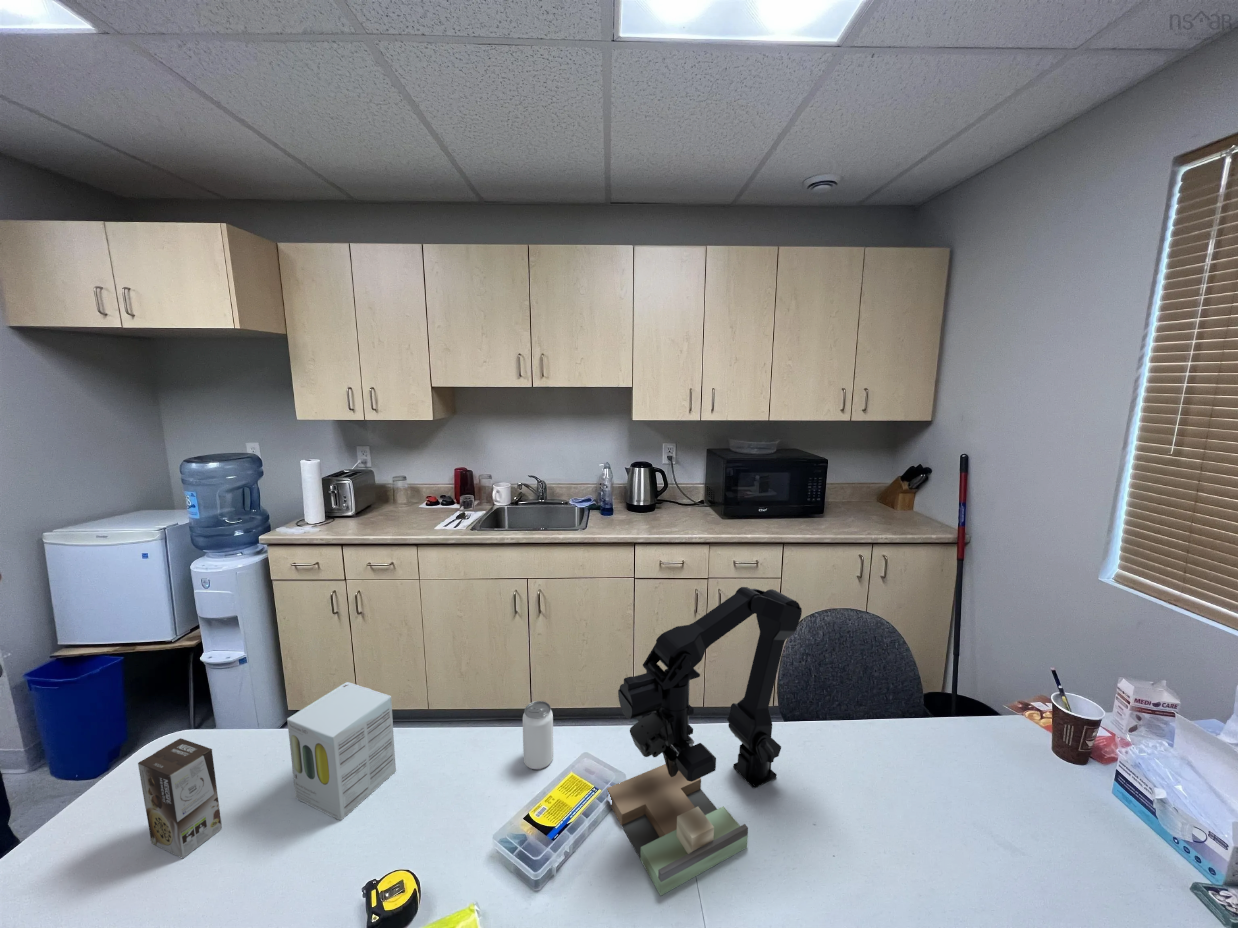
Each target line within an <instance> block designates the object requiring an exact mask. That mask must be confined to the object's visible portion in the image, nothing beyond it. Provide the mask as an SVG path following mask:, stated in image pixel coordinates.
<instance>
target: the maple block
mask: <svg viewBox="0 0 1238 928" xmlns="http://www.w3.org/2000/svg"><path fill="white" fill-rule="evenodd" d="M676 836H677V838H678V840H679V841H680V843H681V844H682V846H683V847H684V849H685V850H686V852H687V853H688V854H689V853H691V852H693V851H695V850H696V849H698V848H700V847H702V846H704V845H706V844H708V843H710V842H712V841H713V838H714V827H713V825H712V824H711V823H710V821H709V820H708V819H707V817H706V816H705V815H704V813H703V812H702V811H701V810H700V808H699V807H696V808H694V809H691V810H689V811H687V812H685V813H683V814H681V815H679V816H677V835H676Z"/></svg>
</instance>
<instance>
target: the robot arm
mask: <svg viewBox="0 0 1238 928" xmlns="http://www.w3.org/2000/svg"><path fill="white" fill-rule="evenodd" d="M802 610H803V609H802V607H801V605H800V603H799V602H798V601H797V600H795V599H793V598H791V597H789V596H788V595H785V594H783V593H781V592H780V591H778V590H776V589H774V588H773V589H768V590H766V591H765V590H762V589H758V588H750V587H748V586H740V587H739V588H738V589H737V590H736V591H735V593H734V594H733V595H732V596H730V597H729V598H727V599H726V600H724V601H723V602H721V603H720V604H718V605H717V606H716V607H714V608H713V609H710V611H708V612H707V613H705V614H704V615H702V616H701V617H700V618H698V619H697V620H695V621H694V622H692V623H689V624H686V625H677V626H675V627H673V628H670V629H669V630H667V631H665V632H663V633H661V634H660V635H659V636H658V637H657V638H656V641H655V644H654V646H653V647H652V649H651V651H650V652H649V654H648V655H647V657H646V659H645V660H644V662H643V663H642V668H644V670H646V671H645V672H646V673H642V674H637V675H635V676H627V677H625V678H623V683H621V684H620V686H619V689H618V691H617V693H618V695H617V697H618V702H619V706H620V709H621V713H623V716H624V717H625V718H626V719H627V720H631V719H634V718H635V719H636V720H637V722H636V723H635V724H632V726H631V727H630V728H629V733H630V736H631V738H632V741H633V743H634V746H635V747H636V748H637V749H638V750H639V752H640V753H641V755H642V756H643V757H644V758H649V757H651V756H652V757H653V758H657V757H659V756H660V755H661V754H662V756H663V759H664V763H665V764H666V766H667V770H668V773H669V775H670V776H671V777H674V776H676V774H677V772H678V771H680V772H681V773H682V775H683V776H684V777H685V778H686V780H687V781H691V782H692V781H695V780H697V779H699V778H701V779H702V778H703V777H705V776H706V775H707V776H708V775H709V774H712V773H714V772H715V771H716V770H717V757H716V756H715V755H714V753H712V752H711V751H710V750H709V749H708V748H707V747H706V746H705V745H704V744H703V743H701V742H698V743H697V744H695V740H694V739H693V738H692V737H691V736H690V735H693V734H694V728H693V727H692V725H690V723H689V718H690V716H691V715H693V714H694V710H695V709H694V708H693V706H691V704H690V683H691V682H690V681H691V680H694V679H697V678H700V677H701V674H700V672H698V671H697V670H696V669H695V668H696V666H697V665H698V664H699V663H700V662H701V661H703V657H704V655H705V653H706V651H707V649H708V648H709V647H710V646H711V645H713V644H714V643H715V642H717V641H718V640H720V639H722V637H723V636H725V635H727V634H728V633H730V632H731V631H733V629H735V628H736V627H737V626H739V625H740V624H741V623H743V622H744V621H746V620H747V619H748V618H750V617H751V616H753V615H754V614H755V617H756V620H757V626H758V629H759V635H758V640H757V643H756V648H755V652H754V655H753V660H752V664H751V667H750V673H749V676H748V680H747V684H746V689H745V692H744V697H743V698H742V699H740V700H739V701H738V702H737V703H734V702H733V703H731V705H730V712H729V715H728V716H727V719H726V721H727V722H728V728H729V730H730V732H731V733H732V734H733V735H734V737H735V738H737V739H738V740H739V741H740V742H741V744H740V745H739V749H738V750H739V751H738V753H737V762H734V763H733V765H732V766H733V769H734V770H736V771H737V773H738V774H739V775H741V777H742V778H743V779H744V780H745V781H746V782H747V783H748V785H750V786H751V787H752V788H753V789H756V788H758V787H761V786H762V785H764V784H767V783H768V782H772V780H775V779H776V778H777V773H776V772H774V771H773V769H772V763H774V760H775V758H777V757H779V756H780V752H781V749H782V746H781V745H780V744H779V742H777V741H776V740H775V739H774V738H773V737H772V732H773V721H772V717H771V713H770V708H769V707H770V703H771V697H772V695H773V690H774V685H775V682H776V677H777V674H778V670H779V667H780V666H779V665H780V662H781V658H782V653H783V649H784V645H785V642H786V640H787V639H788V638H790V636H792V635H793V634H794V633H795V632H796V631H797V629H798V626H799V623H800V622H801V621H800V620H801V617H802V613H803V611H802ZM659 662H661V664H663V666H664V667H665V668H666V669H662V667H661V666H660V665H659V664H658V663H659Z"/></svg>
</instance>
